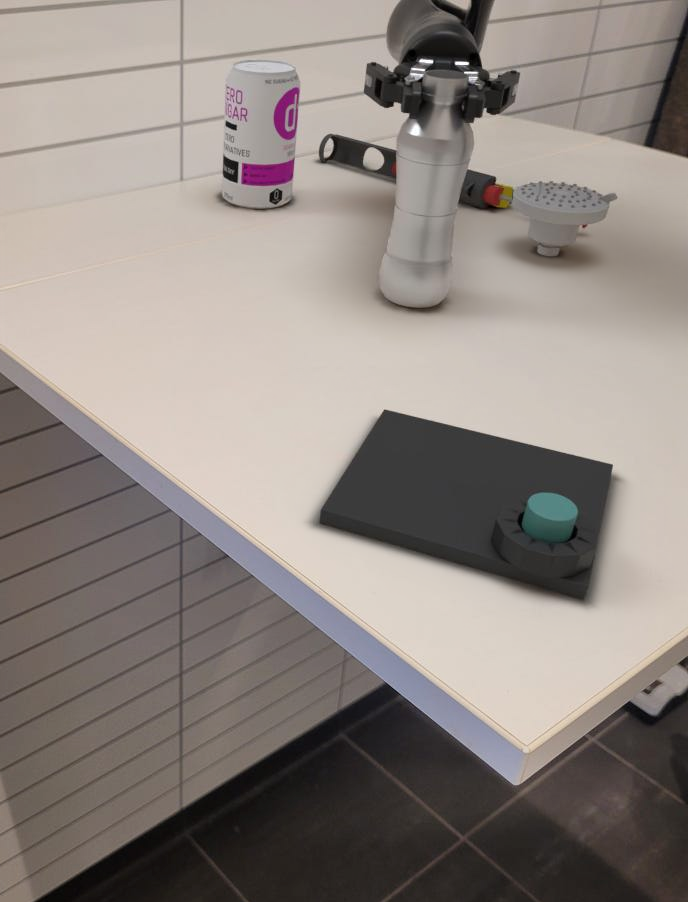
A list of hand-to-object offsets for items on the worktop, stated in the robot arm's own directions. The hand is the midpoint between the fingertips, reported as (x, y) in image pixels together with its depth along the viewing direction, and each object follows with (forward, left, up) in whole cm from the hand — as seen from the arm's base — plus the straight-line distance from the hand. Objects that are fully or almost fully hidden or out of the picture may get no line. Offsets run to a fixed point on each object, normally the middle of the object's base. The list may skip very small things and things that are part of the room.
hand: (443, 108), depth 76 cm
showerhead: (-9, -22, -18) cm, 30 cm away
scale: (-11, +27, -18) cm, 35 cm away
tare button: (-16, +32, -15) cm, 39 cm away
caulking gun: (+5, -38, -18) cm, 42 cm away
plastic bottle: (+1, -3, -18) cm, 18 cm away
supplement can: (+25, -23, -18) cm, 38 cm away
